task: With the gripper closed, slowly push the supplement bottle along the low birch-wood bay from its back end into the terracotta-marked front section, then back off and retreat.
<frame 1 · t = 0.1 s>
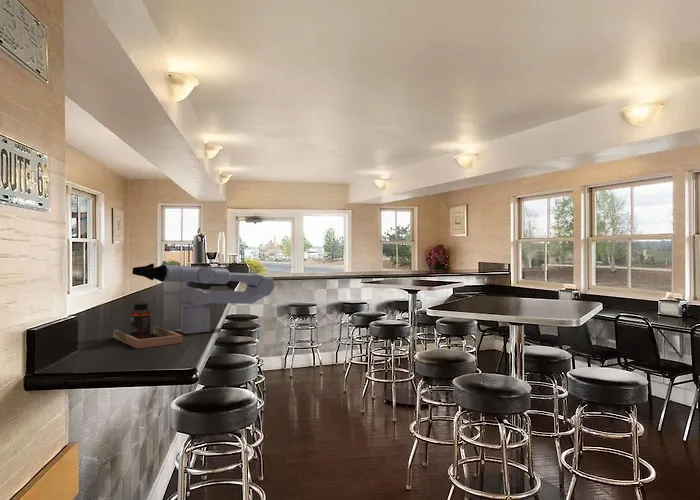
hand: (137, 271, 168), 22 cm above the counter, tool horizontal, fingers open, 7 cm apart
supplement bottle: (140, 338, 168), on the counter
bay: (146, 340, 164), on the counter
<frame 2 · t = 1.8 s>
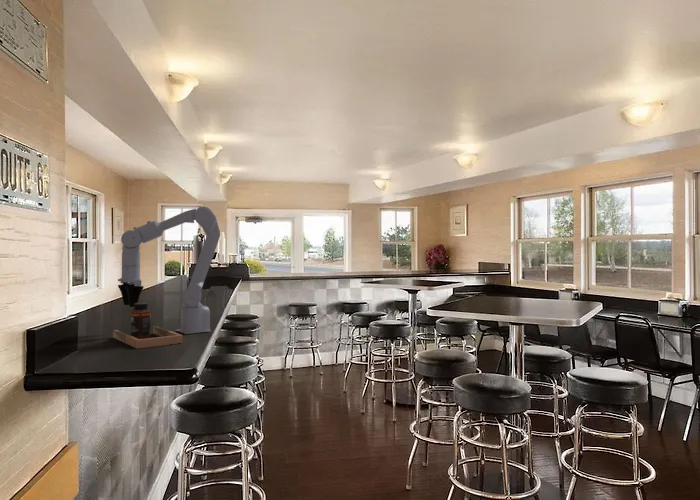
hand: (130, 305, 175), 9 cm above the counter, tool pointing down, fingers open, 5 cm apart
nothing on the counter moved.
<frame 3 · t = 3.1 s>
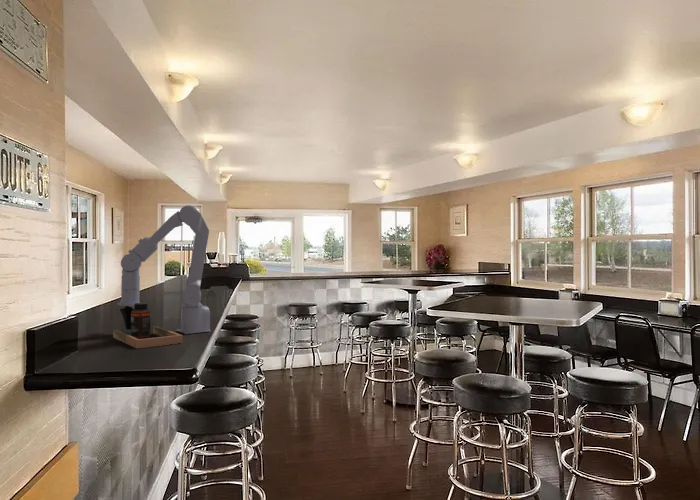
hand: (129, 329, 175), 1 cm above the counter, tool pointing down, fingers closed
nothing on the counter moved.
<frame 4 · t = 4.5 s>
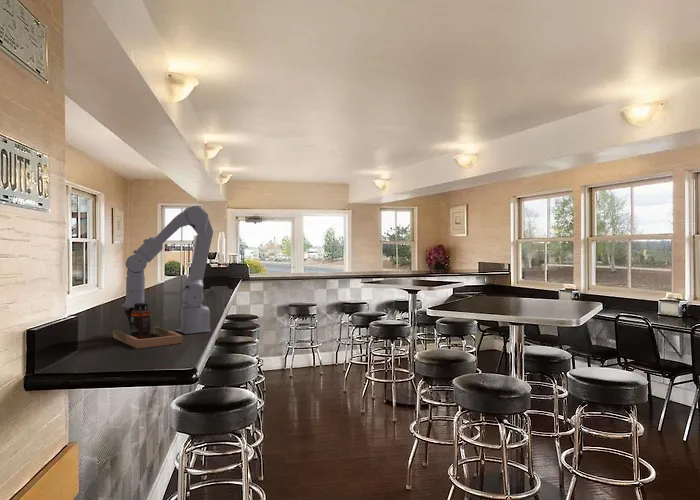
hand: (134, 331, 172), 1 cm above the counter, tool pointing down, fingers closed
supplement bottle: (140, 338, 168), on the counter, touching gripper
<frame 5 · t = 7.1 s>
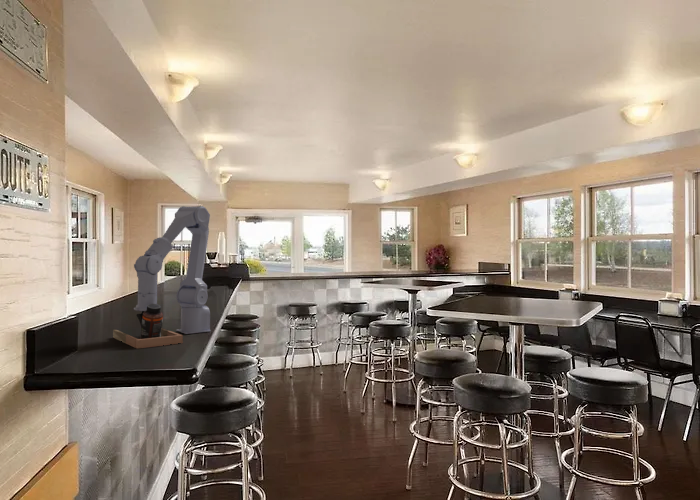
hand: (146, 335, 164), 1 cm above the counter, tool pointing down, fingers closed
supplement bottle: (150, 339, 162), point 1 cm above the counter, touching gripper
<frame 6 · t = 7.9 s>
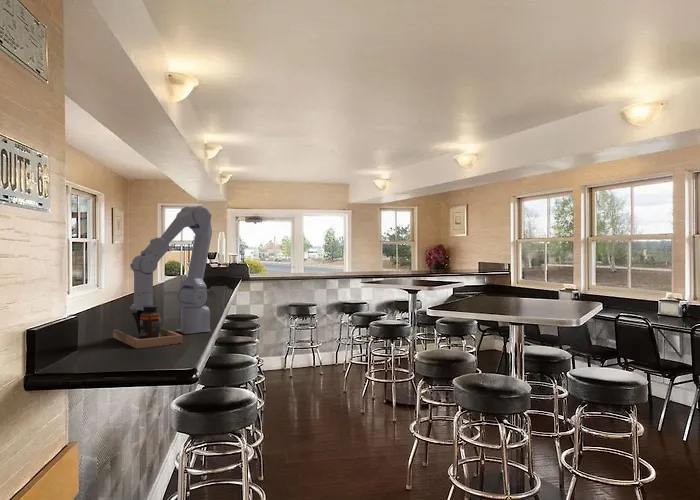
hand: (142, 334, 167), 1 cm above the counter, tool pointing down, fingers closed
supplement bottle: (149, 342, 162), on the counter
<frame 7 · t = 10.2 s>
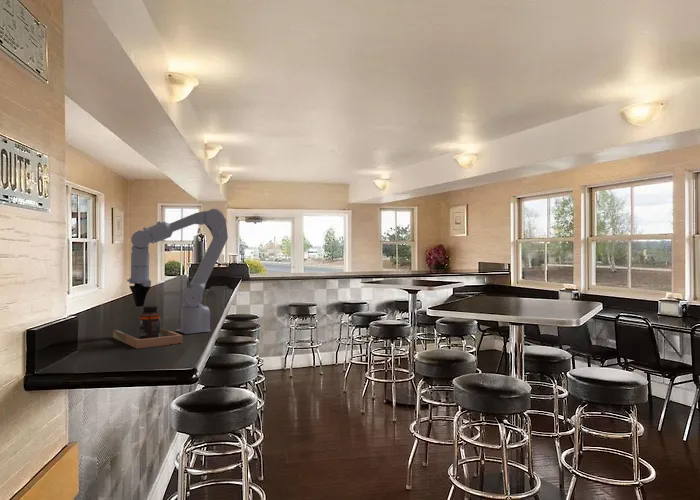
hand: (139, 306, 174), 9 cm above the counter, tool pointing down, fingers closed
nothing on the counter moved.
at the end: supplement bottle inside the target area (2.6 cm from its centre), on the counter; supplement bottle tilted 0°; supplement bottle moved 8.4 cm from its start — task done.
